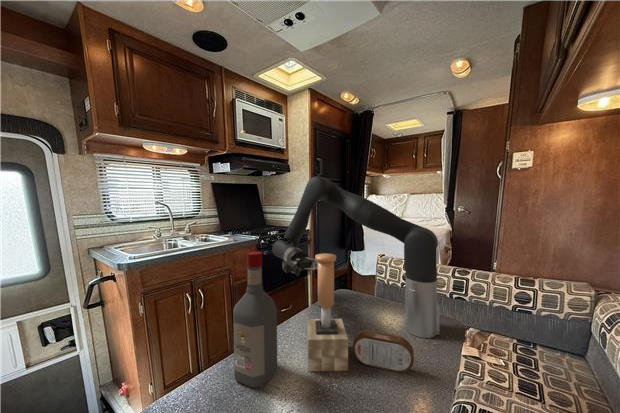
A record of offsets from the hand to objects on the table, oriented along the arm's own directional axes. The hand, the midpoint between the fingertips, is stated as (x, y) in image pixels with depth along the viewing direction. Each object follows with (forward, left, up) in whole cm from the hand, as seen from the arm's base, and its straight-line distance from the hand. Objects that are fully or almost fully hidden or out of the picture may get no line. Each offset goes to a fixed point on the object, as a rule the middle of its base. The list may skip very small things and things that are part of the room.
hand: (312, 270), depth 73 cm
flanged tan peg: (-3, +10, -14) cm, 17 cm away
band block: (-3, +10, -21) cm, 23 cm away
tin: (-17, +14, -21) cm, 31 cm away
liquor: (+15, +15, -21) cm, 30 cm away
